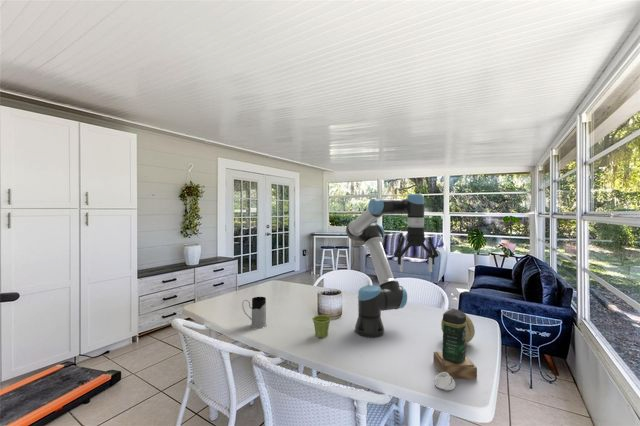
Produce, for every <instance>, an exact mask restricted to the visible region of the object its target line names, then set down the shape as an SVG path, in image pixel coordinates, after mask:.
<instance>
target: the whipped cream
mask: <svg viewBox="0 0 640 426" xmlns="http://www.w3.org/2000/svg"><path fill="white" fill-rule="evenodd" d="M435 383H436V384H435ZM435 385H436V386H435ZM434 386H435V387H436V388H438V389H442V390H445V391H452V389H453V390H455V388H456V382H455V379H453V378H452V377H451V376H450V375H449V374H448V373H447V372H442V373H440V372H439V373H438V374H436V375H435V378H434Z"/></svg>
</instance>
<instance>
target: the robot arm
mask: <svg viewBox="0 0 640 426" xmlns="http://www.w3.org/2000/svg"><path fill="white" fill-rule="evenodd" d="M406 197H407V198H373V199H370V200H369V201H368V206H367V208H366V209H365V210H364V211H363V212H362V213H361V214H360V215H359V216H358V217H356V218H355V219H354V220H351V221H350V222H349V223H348V224H347V226H346V227H345V232H346V233H345V234H346V236H347V237H348V238H349V239H350V240H351V241H352V242H353V241H354V242H363V244H364V247H366V248H368V251H369V255H370V258H371V261H372V264H373V267H374V270H375V274H376V277H377V281H378V285H376V284H373V285H372V284H370V285H364V286H362V287H360V289H359V290H358V295H357V300H358V301H357V302H358V304H357V306H358V307H357V308H358V309H357V311H358V312H357V313H358V314H357V315H358V317H357V319H356V323H355V326H354V331H355V332H354V333H356V334H357V335H359V336H361V337H366V338H377V337H382V336H383V335H384V334H385V327H384V324H383V320H382V317H381V314H382V313H381V312H382V311H393V310H399V309H404V307H405V306H406V305H407V304H408V303H407V302H408V293H407V289H406V287H404V286H403V285H402V286H401V285H400V283H399V281H398V280H396V279H395V277H394V274H393V272H392V271H393V270H392V268H391V266H390V263H389V260H388V258H387V255H386V252H385V249H384V247H383V246H384V245H383V242H384V239H385V228H384V227H383V225H382V224H381V223H379V222H376V221H377V220H379V219H380V218H381V217H382V216H383V215H407V226H408V227H407V237H404V236H400V241H399V243H398V245H397V247H396V249H395V251H394V253H393V256H394V257H395V258H397V264H398V265H399V272H400V273H403V271H404V270H403V269H404V264H403V263H404V259H403V256H404V255H405V253H406V252H407V251H408V250H409V249H410V248H411V247H422V249H423V250H424V251H425V252H426V254H427V255H428V256H429V257H428V272H430V273H433V266H434V265H435V258H438V257H439V254H438V251H437V250H436V247H435V246H434V244H433V241H432V240H433V239H432V237H431V236H426V237H425V196H424V194H423V193H411V194H410V193H409V194H407V196H406ZM406 241H407V243H406V245H405V246H404V247H403V245H404V242H406ZM424 242H427V244H428V246H429V248H430V249H431V250H430V249H429V248H428V247H427V245H426V244H425V243H424ZM402 247H403V248H402ZM401 249H402V250H401ZM431 251H432V252H431Z"/></svg>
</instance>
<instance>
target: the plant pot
mask: <svg viewBox="0 0 640 426" xmlns="http://www.w3.org/2000/svg"><path fill="white" fill-rule="evenodd" d="M331 320H332V318H331V317H330V316H328V315H322V314H321V315H316V316H315V315H314V317H312V321H313V326H314V331H315V332H314V333H315V337H317V338H323V339H324V338H326V337H328V334H329V327H330V322H331Z"/></svg>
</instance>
